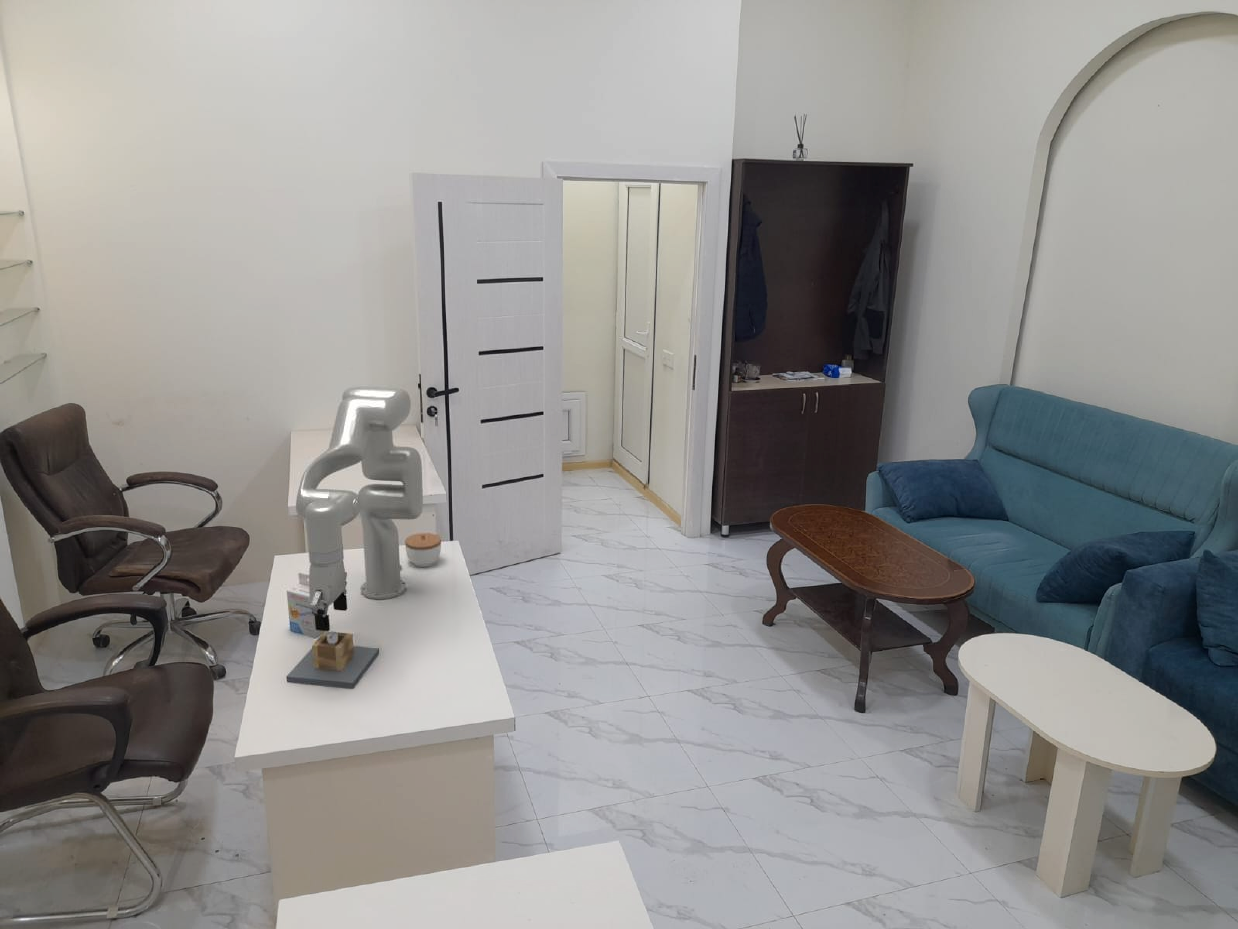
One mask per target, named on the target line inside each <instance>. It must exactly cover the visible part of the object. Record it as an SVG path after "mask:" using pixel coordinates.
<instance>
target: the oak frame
mask: <svg viewBox="0 0 1238 929" xmlns="http://www.w3.org/2000/svg"><path fill="white" fill-rule="evenodd" d="M329 632H330V631H325V632H324V633H322V634H321V635H319V636H318V638H317V639H316V640H315V641H314V643H313V644H311V649H312V653H313V665H314V668H317V669H328V670H338V671H343V669H344V668H345V667H346V666H347V664H348V663H349V662H350V661H351V659H352V658H353V657H354V646H355V645H354V634H353V633H349V632H338V631H336V632H337V635H338V645H333V644H327V633H329Z"/></svg>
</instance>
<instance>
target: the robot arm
mask: <svg viewBox="0 0 1238 929" xmlns="http://www.w3.org/2000/svg"><path fill="white" fill-rule="evenodd" d="M411 402H412V401H411V396H410V394H409V393H408V391H407V390H405V389H403V388H397V387H396V388H395V387H394V388H393V387H375V386H354V387H349V388H347V389H345V390H344V391H343V393H342V401H341V402H340V403H339V405H338V409H337V413H336V416H335V420H334V425H333V428H332V434H331V438H330V442H329V447H328V448H327V449H326V450H324V452H322V453H321V454H320V455H318V457H316V459H314V460H313V461H312V462H311V463H310V465H309V466H307V468H306V469H305V471H304V472H303V474H302V477H301V480H300V483H299V487H298V491H297V495H296V501H295V510H296V514H297V516H298V517H299V518H300V519H302V520H304V521H305V526H306V527H305V528H306V539H307V540H306V541H307V548H308V559H309V563H310V565H309V573H308V575H309V579H308V581H309V594H310V603H311V605H310V608H311V610H312V613H313V616H315V626H316V630H319V631H328V632H330V630H331V625H330V615H329V614H328V611H329V606H330V605H332V604H333V610H334V611H344V612H345V611H346V612H347V610H348V602H347V601H348V599H347V592H348V591H347V589H346V588H347V585H348V582H347V577H348V573H347V571H346V569H345V564H344V563H345V562H344V557H345V556H344V544H343V536H342V535H343V534H342V533H343V532H342V527H344V526H345V525H346V524H349V523H350V522H352V521H354V520H355V519H356V518H357V517H358V514H359V515H360V520H361V526H362V527H361V528H362V539H363V555H364V569H365V570H364V572H365V582H364V583H362V585H361V586H360V593H361V594H362V595H363V596H364V597H366V598H368V599H372V600H373V599H374V600H388V599H392V598H395V597H398V596H400V595H403V593H405V592H406V590H407V582H406V581H405V580H403V579H402V578H401V571H402V570H403V566H402V564H401V563H400V561H401V560H400V544H399V543H400V540H399V538H400V536H399V530H398V528H397V525H396V524H395V522H394V521H393V520H407V521H409V520H410V521H411V520H415V519H416V520H417V519H418V518H420V516H421V515H422V512H423V506H424V491H423V467H422V458H421V455H420V452H419V450H417V449H416V448H414V447H411V446H397V445H396V446H395V445H394V442H393V431H394V430H396V429H397V428H398V427H399V426H400V425H402V423H403V422H405V421H406V419H407V418H408V416H409V415H410V412H411V406H412V403H411ZM359 463H361V471H362V474H363V476H364V477H365V478H366V479H368V480H372V481H380V482H381V481H383V482H401V484H392V483H391V484H390V483H370V484H366V485H364V486H362V487H361V488H360V489H359V491H358V493H356V492H354V491H353V490H346V489H327V488H325V489H324V488H318V486H319V485H320V483H321V482H322V481H323V480H325V479H326V478H327V477H328V476H330V475H332V474H334V473H336V472H339V471H342V470H344V469H348V468H349V467H352V466H355V465H357V464H359ZM320 600H324V601H325V603H324V602H320ZM319 605H320V606H324V610H321V609H319Z"/></svg>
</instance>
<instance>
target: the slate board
mask: <svg viewBox="0 0 1238 929" xmlns="http://www.w3.org/2000/svg"><path fill="white" fill-rule="evenodd" d="M379 655H380V648H378V647H372V646H371V647H369V646H359V645H354V657H353V658H352V659H351V661H350V662H349V663H348V664H347V666H346V667H345V668H344V669H343V671H338V670H328V669H317V668H314V665H313V653H312V648H311V649H310V650H309V651H308V652H307V653H306V654H305V655H304V657H302V658H301V660H299V662H298V663H296V665H295V666H294V667H293V668H292V670H290V672H289V673H288V674H287V675H286V676H285V678H286V682H287V683H293V684H304V685H312V686H313V685H314V686H325V687H332V688H343V689H354V688H355V687H356V686H357V684H358V683H359V682H360V680H361V679H362V678H363V676H364V675H365V674H366V672H367V671H368V670H369V668H370V667H371V666H372V664H373V663H374V661H375V660H376V659H377V658H378V656H379Z"/></svg>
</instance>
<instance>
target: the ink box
mask: <svg viewBox="0 0 1238 929" xmlns="http://www.w3.org/2000/svg"><path fill="white" fill-rule="evenodd" d="M297 574H298V581H299V582H298V584H296V585H294V586H291V587H290V588H287V589H286V597H287V609H288V610H287V611H288V619H289V630H290V631H291V632H294V633H297V634H301V635H304V636H308V637H311V638H314V639H315V638H317V637H318V638H319V637H320V636H321V635H322V634H323V633H324V632H325V631H319V630H316V626H315V616H313V613H312V610H311V608H310V605H311V603H310V594H309V574H306V573H304V572H303V573H302V572H298V573H297ZM320 602H324V603H326V602H325V601H324V600H320ZM319 609H321V610H324V606H320V605H319Z"/></svg>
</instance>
